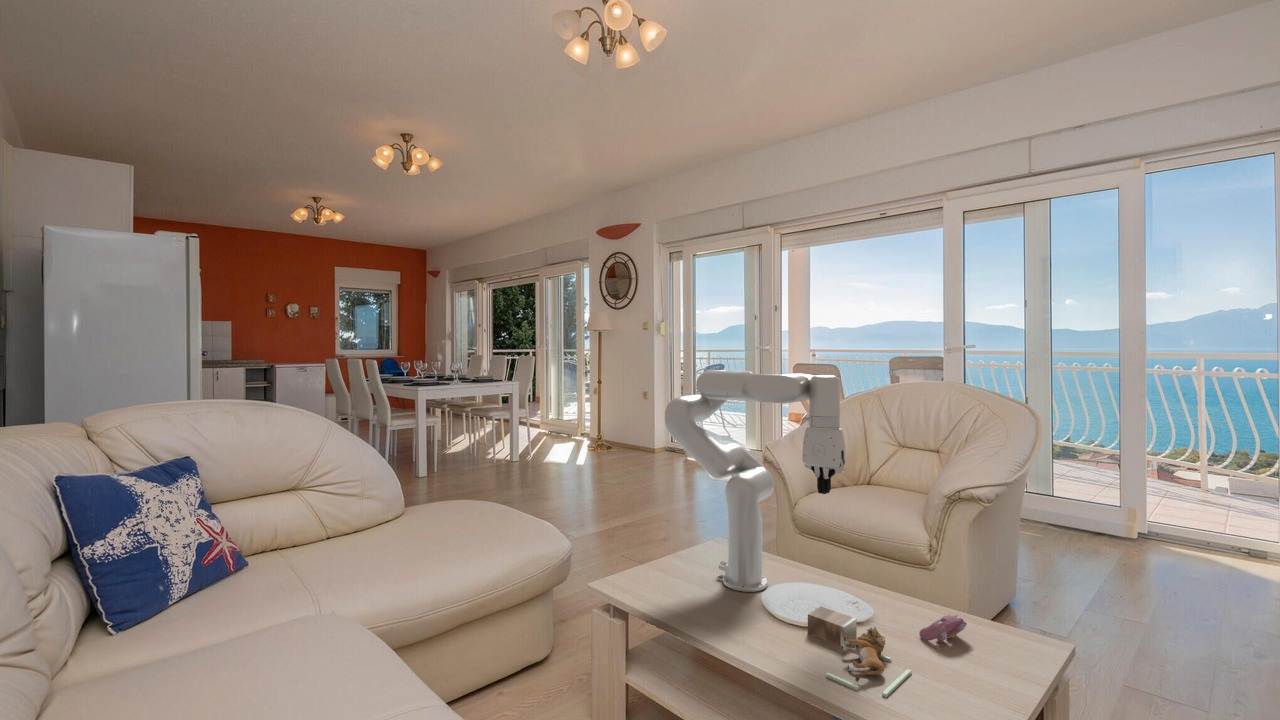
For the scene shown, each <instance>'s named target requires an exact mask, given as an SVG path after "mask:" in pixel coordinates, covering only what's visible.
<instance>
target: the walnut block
mask: <svg viewBox="0 0 1280 720" xmlns="http://www.w3.org/2000/svg"><path fill="white" fill-rule="evenodd" d="M857 625H858V623H857V618H856V617H853V616H849V615H847V614H844V613H842V612H839V611H836V610H832V609H831V608H827V607H824V606H821V605H820V606H819V607H817V608H815V609H814V610H812V611H810V612H809V613H807V634H809V635H811V636H815V637H817V638H820V639H822V640H825V641H828V642H829V643H833V644H835V645H838V646H840V647H842V645H845V646H847V645H849V644H847V643H845V640H844V637H845V636H847V637H848V639H849V640H855V639H857V637H858V636H857V635H858V634H857V633H858V632H857V630H858V629H857V628H858V626H857Z"/></svg>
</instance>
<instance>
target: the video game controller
mask: <svg viewBox="0 0 1280 720" xmlns="http://www.w3.org/2000/svg"><path fill="white" fill-rule="evenodd" d="M966 627H967V622H966V620H964V619H963V618H961V617H960V616H958V614H955V615H951V614H949V615H943V616H942V617H940V618H939V619H937V620H935V621H933V623H931V624H930V625H928V626H926V627H923V628H921V629H920V630H919V637H920V639H922V640H924V641H933V640H935V639H936V640H937V642H939V643H942V642H944V641H945V640H946V639H947V638H948V639H949V640H952V639H955V637H956V636H957V635H958V634H959V633H961V632H962V631H963V630H964V629H965V628H966Z"/></svg>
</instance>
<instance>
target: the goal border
mask: <svg viewBox="0 0 1280 720" xmlns="http://www.w3.org/2000/svg"><path fill="white" fill-rule="evenodd" d="M878 659H881V660H884V661H886V662H890V663H891V661H892V657H890V656H887V655H886V654H883V653H881V656H880V657H878ZM911 674H912V669H909V668H906V670H905V671H903V672H902V673H901V674H900V675H899V676H898V677H896V679H895V680H894V681H892V683H891V684H890V685H888V687H886V688H885V689H884V690H883V691H882V692H881V696H882V697H884V698H888V696H889V695H891V694H892V692H893V691H895V690H896V689H897V688H898V687H899V686H900V685H901V684H902V683H903V682H904V681H905V680H906V679H907V678H908V677H910V676H911ZM825 677H826V678H827V677H829V678H828V679H830V678H831V679H830V680H832V679H833V680H832V681H834V680H835V681H834V682H836V681H837V683H839V684H841V685H843V686H845V685H846V687H848V688H850V689H852V688H853V689H852V690H854V691H859V689H860V686H859V685H857V684H856V683H854V682H850V681H848V680H846V679H845V678H842V677H839V676H837V675H835V674H833V673H830V672H827V673H825Z"/></svg>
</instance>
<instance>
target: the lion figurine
mask: <svg viewBox="0 0 1280 720" xmlns="http://www.w3.org/2000/svg"><path fill="white" fill-rule="evenodd" d="M844 640H845V643H847V644H848V645H854V646H855V647H849V646H847V645H846V646H845V645H842V646H841V650H842V652H846V653H847V652H848V653H851V654H855V655H858V656H859V659H860V661H861V663H858V662H857V661H856V660H853V662H852V665H853V666H852V665H850V664H847V665H848V666H847V671H848V672H855V673H859V674H857V675H855V676H856V677H855V681H856V683H858V682H859V680H860V679H861V677H862V676H866V675H869V676H877V677H878V676H881V675H882V674H883V673H884V672H885V666H884V664H883V662H882V660H880V658H878V657H880V656H881V654H882V653H883V651H884V649H885V645H886V637H885V636H883V635H881V634H880V632H879V631H878V629H877V627H876V626H871V627H870V628H866V631H864V632H862V633H861V635H860V636H859V635H858V636H857V638H856V639H854V640H849V639H848V637H847V636H845V637H844Z"/></svg>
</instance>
